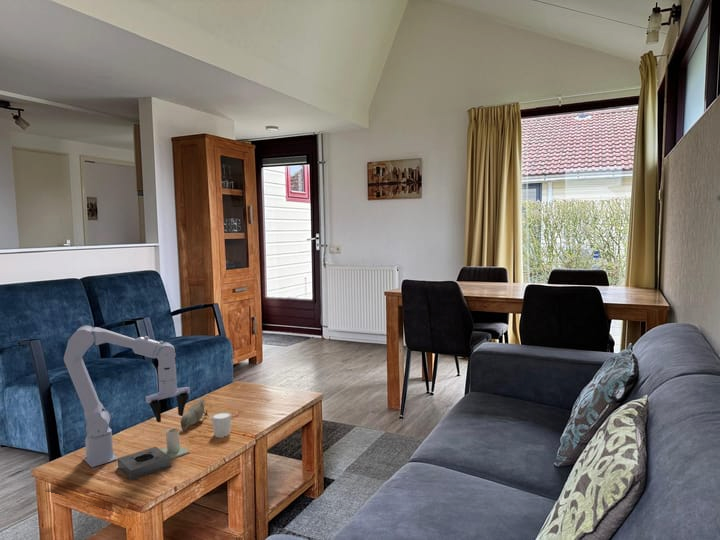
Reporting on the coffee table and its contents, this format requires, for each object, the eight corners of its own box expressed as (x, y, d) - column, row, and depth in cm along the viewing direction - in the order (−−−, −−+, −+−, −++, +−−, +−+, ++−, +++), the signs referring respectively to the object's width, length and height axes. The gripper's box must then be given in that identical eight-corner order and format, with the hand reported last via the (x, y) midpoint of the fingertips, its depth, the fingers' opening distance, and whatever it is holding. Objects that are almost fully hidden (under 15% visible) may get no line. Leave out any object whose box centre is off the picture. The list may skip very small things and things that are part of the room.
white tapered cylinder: (211, 432, 185) (210, 413, 184) (230, 429, 187) (230, 411, 187) (213, 439, 178) (212, 420, 178) (233, 436, 181) (232, 417, 180)
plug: (165, 450, 168) (163, 429, 168) (177, 447, 171) (175, 426, 170) (169, 454, 165) (168, 433, 165) (181, 450, 168) (180, 429, 167)
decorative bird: (176, 432, 187) (175, 412, 186) (197, 416, 203) (196, 398, 202) (190, 432, 186) (189, 412, 185) (210, 417, 202) (209, 398, 201)
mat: (157, 451, 169) (157, 450, 169) (178, 445, 174) (177, 443, 174) (168, 459, 163) (168, 458, 163) (189, 452, 168) (189, 451, 167)
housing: (118, 467, 158) (117, 458, 158) (156, 455, 166) (155, 446, 166) (131, 480, 149) (131, 470, 149) (171, 466, 158) (170, 457, 158)
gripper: (150, 386, 162) (153, 427, 163) (193, 376, 172) (195, 415, 173) (142, 382, 168) (144, 422, 168) (184, 373, 178) (186, 410, 178)
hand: (169, 418), depth 171 cm, fingers open, 7 cm apart
